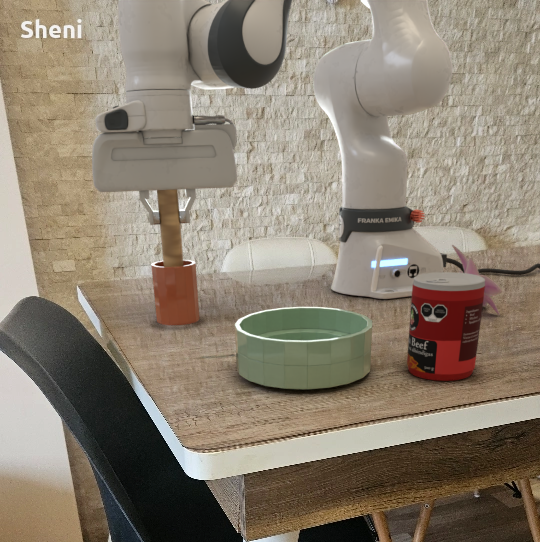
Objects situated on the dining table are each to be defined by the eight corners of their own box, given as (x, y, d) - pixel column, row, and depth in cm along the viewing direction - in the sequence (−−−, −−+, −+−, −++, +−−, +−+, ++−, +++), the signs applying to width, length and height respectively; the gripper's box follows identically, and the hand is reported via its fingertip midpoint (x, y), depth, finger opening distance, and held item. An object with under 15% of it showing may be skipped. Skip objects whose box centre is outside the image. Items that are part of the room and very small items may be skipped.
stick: (187, 316, 105) (176, 178, 96) (188, 321, 103) (177, 180, 94) (168, 318, 105) (155, 179, 96) (169, 322, 102) (155, 180, 93)
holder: (198, 316, 108) (193, 258, 103) (201, 326, 102) (196, 266, 97) (156, 319, 107) (151, 260, 102) (157, 329, 101) (151, 268, 97)
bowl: (349, 348, 90) (350, 303, 87) (388, 388, 76) (391, 336, 73) (230, 356, 87) (228, 311, 85) (247, 399, 73) (244, 346, 71)
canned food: (399, 363, 83) (405, 273, 78) (461, 360, 84) (471, 270, 79) (416, 383, 77) (424, 286, 71) (483, 380, 77) (496, 283, 72)
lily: (493, 333, 98) (528, 272, 96) (422, 298, 99) (454, 237, 97) (484, 337, 110) (514, 282, 108) (420, 305, 111) (449, 251, 109)
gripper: (233, 115, 95) (237, 218, 102) (87, 118, 92) (101, 224, 99) (238, 113, 90) (242, 223, 96) (83, 117, 87) (98, 229, 93)
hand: (169, 223), depth 97 cm, fingers closed on stick, 3 cm apart
